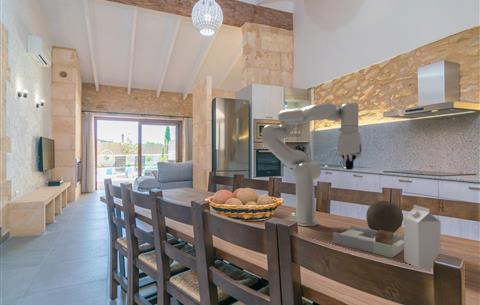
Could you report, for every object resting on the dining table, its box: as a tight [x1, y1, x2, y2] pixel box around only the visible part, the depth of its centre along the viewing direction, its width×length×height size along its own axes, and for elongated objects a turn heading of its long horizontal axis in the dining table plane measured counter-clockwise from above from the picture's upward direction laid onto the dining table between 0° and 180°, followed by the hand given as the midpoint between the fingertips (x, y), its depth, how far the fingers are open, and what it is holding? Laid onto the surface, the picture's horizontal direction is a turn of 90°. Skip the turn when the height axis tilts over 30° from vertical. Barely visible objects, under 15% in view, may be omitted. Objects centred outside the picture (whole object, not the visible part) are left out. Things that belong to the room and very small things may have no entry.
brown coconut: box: [365, 200, 404, 234], centre depth 119 cm, size 14×14×15 cm
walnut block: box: [375, 230, 394, 245], centre depth 100 cm, size 4×4×4 cm
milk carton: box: [403, 204, 442, 269], centre depth 86 cm, size 7×7×19 cm
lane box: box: [332, 225, 404, 259], centre depth 107 cm, size 22×16×4 cm
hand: (349, 169), depth 126 cm, fingers closed
